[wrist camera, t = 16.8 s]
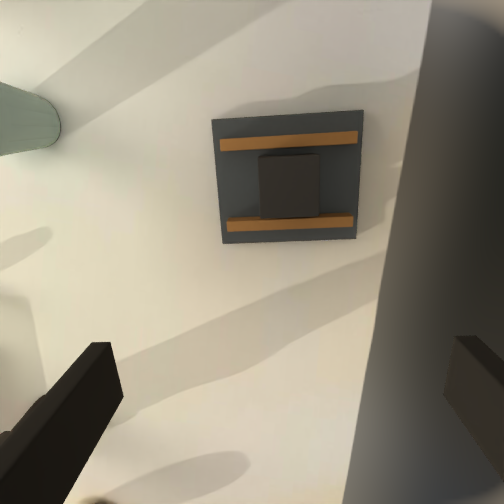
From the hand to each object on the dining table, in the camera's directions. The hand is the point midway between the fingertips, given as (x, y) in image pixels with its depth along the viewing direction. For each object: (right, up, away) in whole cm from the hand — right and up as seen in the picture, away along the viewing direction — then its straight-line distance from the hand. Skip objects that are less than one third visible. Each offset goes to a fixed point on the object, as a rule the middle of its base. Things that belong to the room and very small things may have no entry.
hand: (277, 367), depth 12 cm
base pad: (+3, +13, +24) cm, 27 cm away
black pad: (+3, +12, +23) cm, 26 cm away
